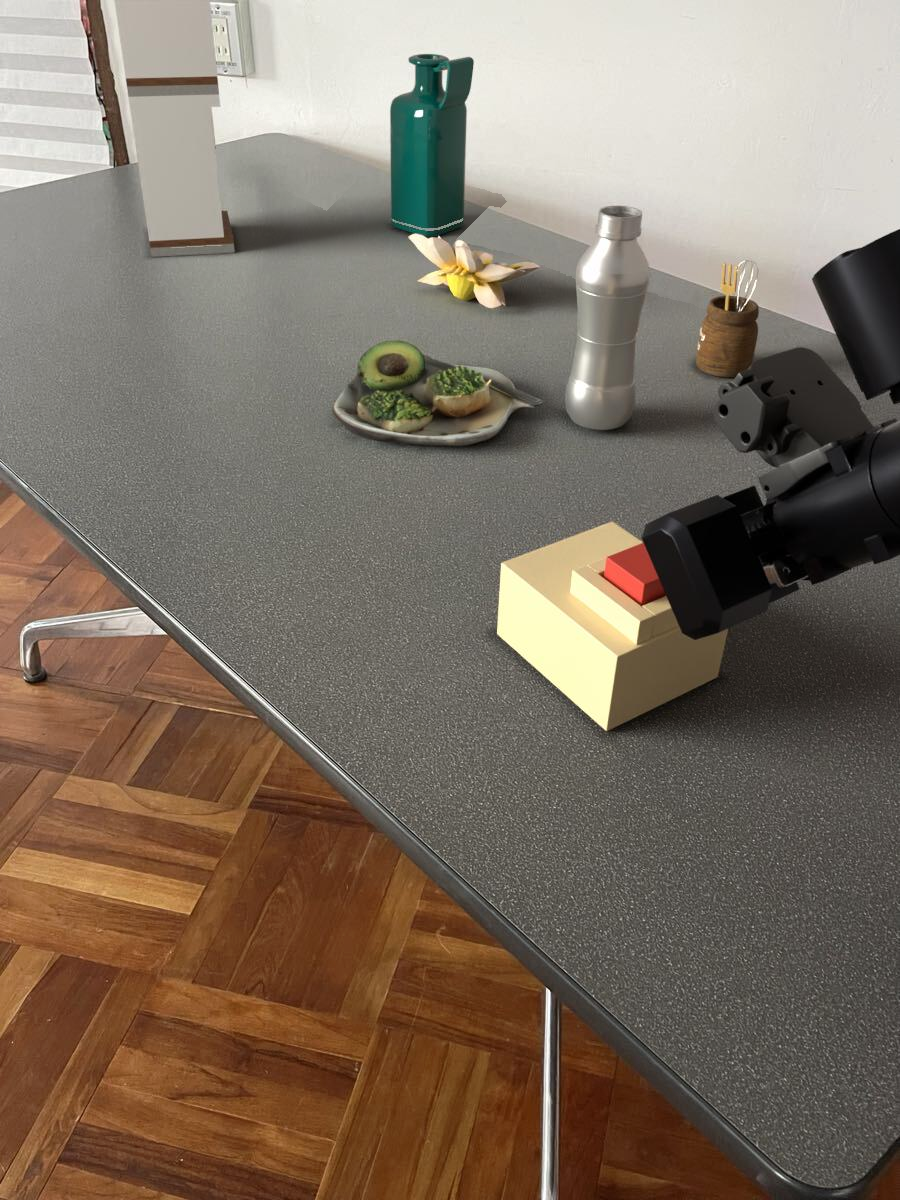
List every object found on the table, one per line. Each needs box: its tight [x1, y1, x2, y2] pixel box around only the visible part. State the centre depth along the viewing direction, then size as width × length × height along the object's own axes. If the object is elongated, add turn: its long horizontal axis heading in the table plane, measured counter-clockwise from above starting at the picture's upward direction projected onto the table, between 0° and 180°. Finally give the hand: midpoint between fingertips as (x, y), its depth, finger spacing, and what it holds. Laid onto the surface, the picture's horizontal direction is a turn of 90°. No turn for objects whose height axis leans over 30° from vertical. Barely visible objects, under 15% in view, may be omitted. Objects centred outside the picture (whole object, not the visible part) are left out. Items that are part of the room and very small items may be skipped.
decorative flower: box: [408, 233, 542, 309], centre depth 127 cm, size 15×11×10 cm
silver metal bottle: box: [564, 205, 651, 431], centre depth 98 cm, size 6×7×20 cm
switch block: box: [496, 521, 729, 732], centre depth 73 cm, size 12×10×8 cm
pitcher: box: [389, 53, 475, 238], centre depth 145 cm, size 10×8×22 cm
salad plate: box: [331, 339, 544, 447], centre depth 104 cm, size 19×18×5 cm
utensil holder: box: [695, 259, 760, 378], centre depth 111 cm, size 6×6×12 cm
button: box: [604, 543, 666, 606], centre depth 68 cm, size 4×4×2 cm
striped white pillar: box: [113, 0, 236, 258], centre depth 134 cm, size 11×11×35 cm
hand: (706, 565), depth 63 cm, fingers closed
